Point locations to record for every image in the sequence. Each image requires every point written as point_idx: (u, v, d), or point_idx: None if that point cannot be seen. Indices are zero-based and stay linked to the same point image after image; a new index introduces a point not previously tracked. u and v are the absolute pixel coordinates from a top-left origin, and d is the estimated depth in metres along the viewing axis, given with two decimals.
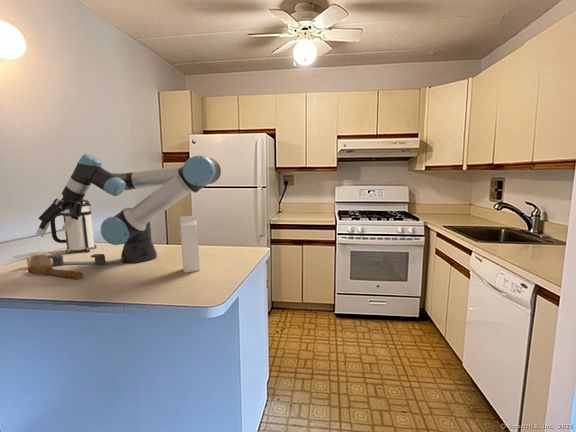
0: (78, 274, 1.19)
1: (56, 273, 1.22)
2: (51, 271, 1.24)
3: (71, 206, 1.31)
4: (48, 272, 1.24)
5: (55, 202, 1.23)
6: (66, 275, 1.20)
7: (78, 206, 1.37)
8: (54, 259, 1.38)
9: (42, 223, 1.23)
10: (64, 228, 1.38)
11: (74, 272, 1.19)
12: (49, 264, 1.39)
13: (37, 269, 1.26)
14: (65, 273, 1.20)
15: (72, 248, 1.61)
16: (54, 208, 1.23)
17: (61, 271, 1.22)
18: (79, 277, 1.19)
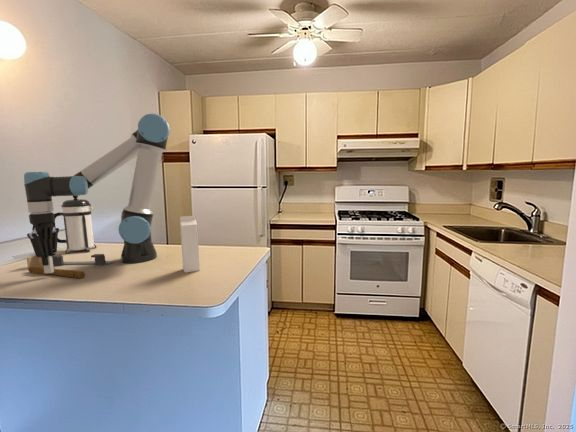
0: (80, 273, 1.19)
1: (58, 273, 1.23)
2: None
3: None
4: None
5: (30, 237, 1.15)
6: (68, 274, 1.20)
7: (53, 236, 1.24)
8: (54, 259, 1.38)
9: (43, 259, 1.20)
10: None
11: (76, 271, 1.20)
12: None
13: (38, 269, 1.26)
14: (67, 272, 1.21)
15: (72, 248, 1.61)
16: (36, 242, 1.16)
17: (63, 271, 1.22)
18: (81, 276, 1.20)
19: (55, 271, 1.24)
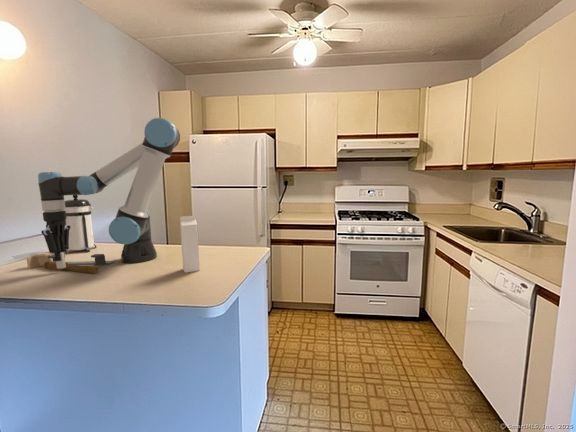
0: (94, 269, 1.25)
1: (72, 268, 1.29)
2: (67, 266, 1.30)
3: None
4: None
5: (44, 234, 1.21)
6: (83, 270, 1.26)
7: (65, 233, 1.31)
8: (54, 259, 1.38)
9: (56, 255, 1.26)
10: None
11: (90, 267, 1.26)
12: None
13: (53, 265, 1.32)
14: (82, 268, 1.27)
15: (72, 248, 1.61)
16: (50, 238, 1.22)
17: (77, 266, 1.28)
18: (95, 271, 1.26)
19: (70, 267, 1.29)
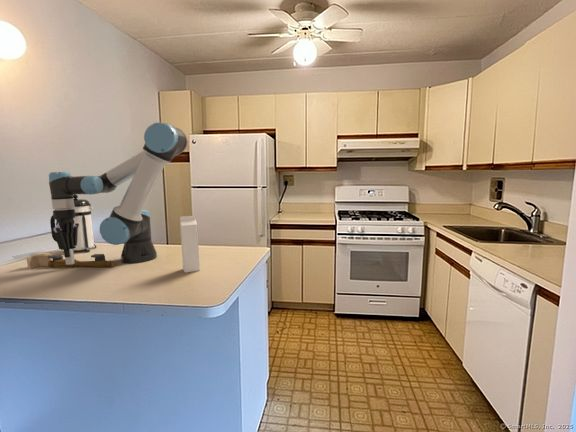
0: (113, 262, 1.34)
1: (86, 264, 1.34)
2: (79, 263, 1.35)
3: None
4: (76, 264, 1.35)
5: (54, 231, 1.26)
6: (99, 264, 1.34)
7: (74, 231, 1.36)
8: (54, 259, 1.38)
9: (65, 252, 1.31)
10: None
11: (108, 261, 1.34)
12: None
13: (62, 262, 1.35)
14: (98, 263, 1.34)
15: None
16: (59, 236, 1.27)
17: (92, 261, 1.35)
18: (113, 265, 1.35)
19: (82, 263, 1.35)
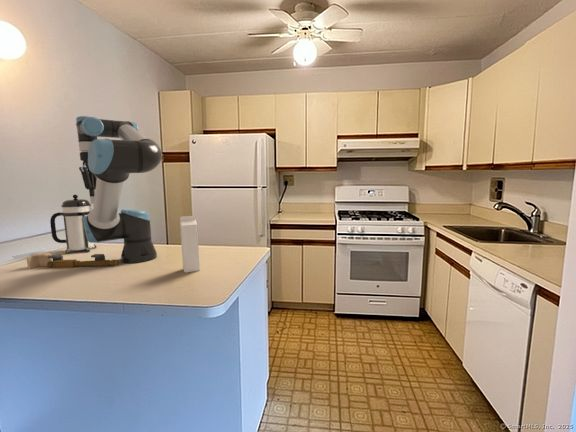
0: (116, 261, 1.36)
1: (88, 263, 1.35)
2: (81, 262, 1.35)
3: None
4: (77, 264, 1.35)
5: (81, 170, 1.39)
6: (102, 263, 1.35)
7: None
8: (54, 259, 1.38)
9: (90, 191, 1.44)
10: (93, 201, 1.46)
11: (111, 260, 1.36)
12: None
13: (62, 263, 1.35)
14: (100, 262, 1.35)
15: (72, 248, 1.61)
16: (86, 174, 1.40)
17: (94, 261, 1.36)
18: (116, 264, 1.36)
19: (84, 262, 1.35)
